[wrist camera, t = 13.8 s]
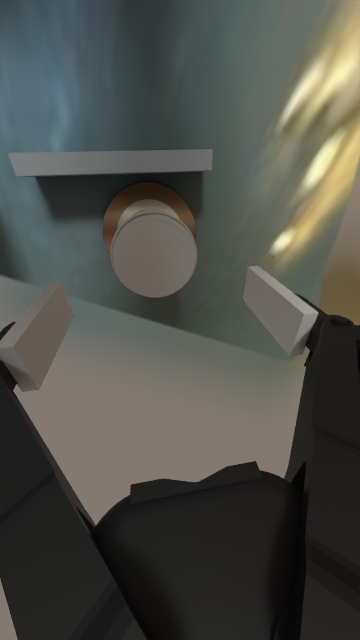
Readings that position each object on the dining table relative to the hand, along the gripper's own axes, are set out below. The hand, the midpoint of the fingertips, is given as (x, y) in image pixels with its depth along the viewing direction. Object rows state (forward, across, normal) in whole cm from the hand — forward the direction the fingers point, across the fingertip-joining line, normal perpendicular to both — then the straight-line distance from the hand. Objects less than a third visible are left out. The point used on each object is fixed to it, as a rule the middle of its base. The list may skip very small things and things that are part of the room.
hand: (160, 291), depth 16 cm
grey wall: (+22, -3, +8) cm, 23 cm away
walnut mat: (+21, 0, -1) cm, 21 cm away
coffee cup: (+20, 0, -1) cm, 21 cm away
